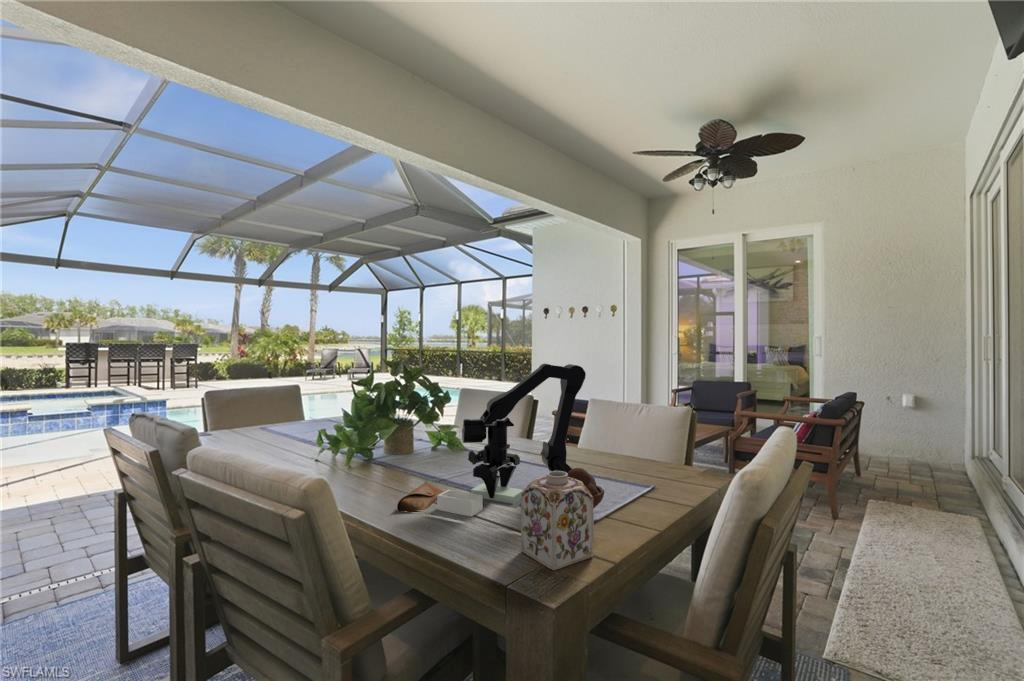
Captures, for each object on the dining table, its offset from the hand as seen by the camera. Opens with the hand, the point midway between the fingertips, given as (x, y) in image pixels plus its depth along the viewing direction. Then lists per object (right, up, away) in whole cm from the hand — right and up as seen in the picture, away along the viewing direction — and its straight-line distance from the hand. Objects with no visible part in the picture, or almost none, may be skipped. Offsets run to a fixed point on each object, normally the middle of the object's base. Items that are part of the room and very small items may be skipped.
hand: (497, 494), depth 144 cm
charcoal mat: (0, -1, 0) cm, 1 cm away
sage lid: (0, -1, 0) cm, 1 cm away
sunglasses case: (-21, -2, -3) cm, 21 cm away
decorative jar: (+14, -2, -36) cm, 39 cm away
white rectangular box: (-10, -1, -11) cm, 15 cm away
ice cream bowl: (+22, -2, -21) cm, 30 cm away
